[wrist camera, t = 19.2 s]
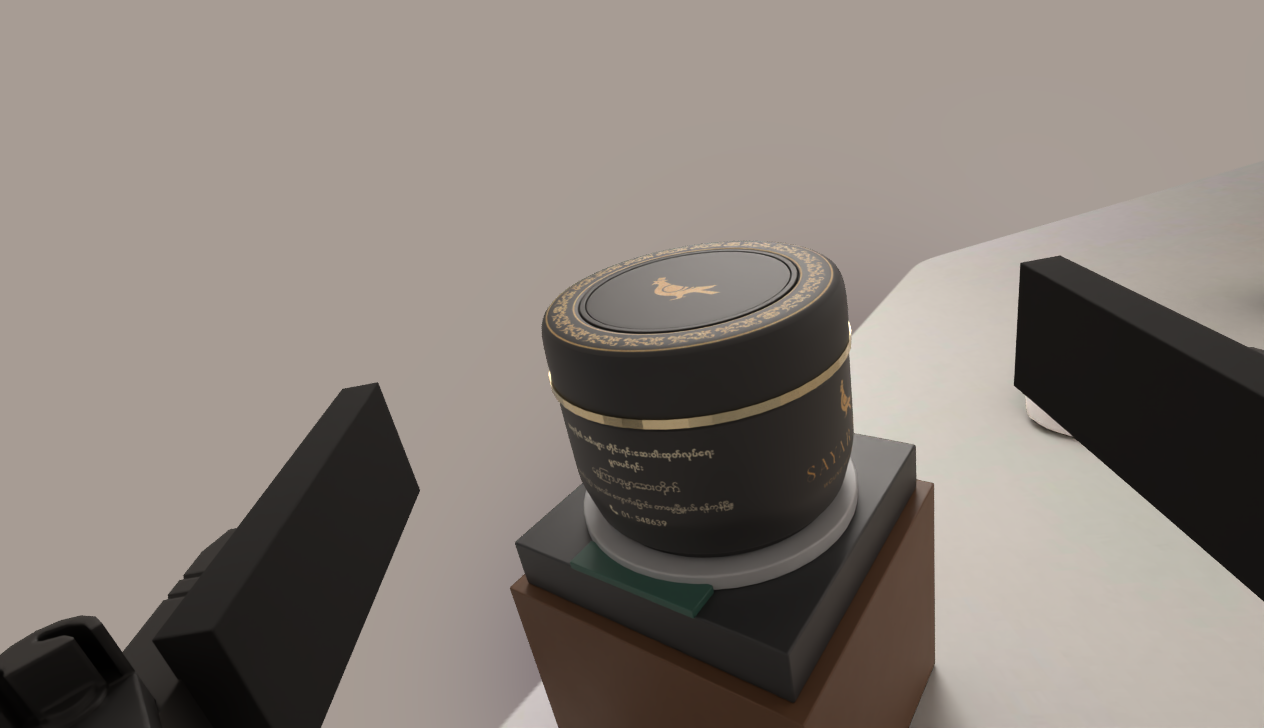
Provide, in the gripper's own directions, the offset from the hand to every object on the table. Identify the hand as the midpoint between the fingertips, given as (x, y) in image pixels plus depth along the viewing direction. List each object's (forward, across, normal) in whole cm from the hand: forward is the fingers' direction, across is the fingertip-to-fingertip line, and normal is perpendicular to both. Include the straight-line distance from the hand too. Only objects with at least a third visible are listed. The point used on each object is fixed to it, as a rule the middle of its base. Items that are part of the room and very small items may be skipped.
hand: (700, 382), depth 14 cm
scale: (+9, 0, -21) cm, 23 cm away
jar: (+8, 0, -9) cm, 12 cm away
